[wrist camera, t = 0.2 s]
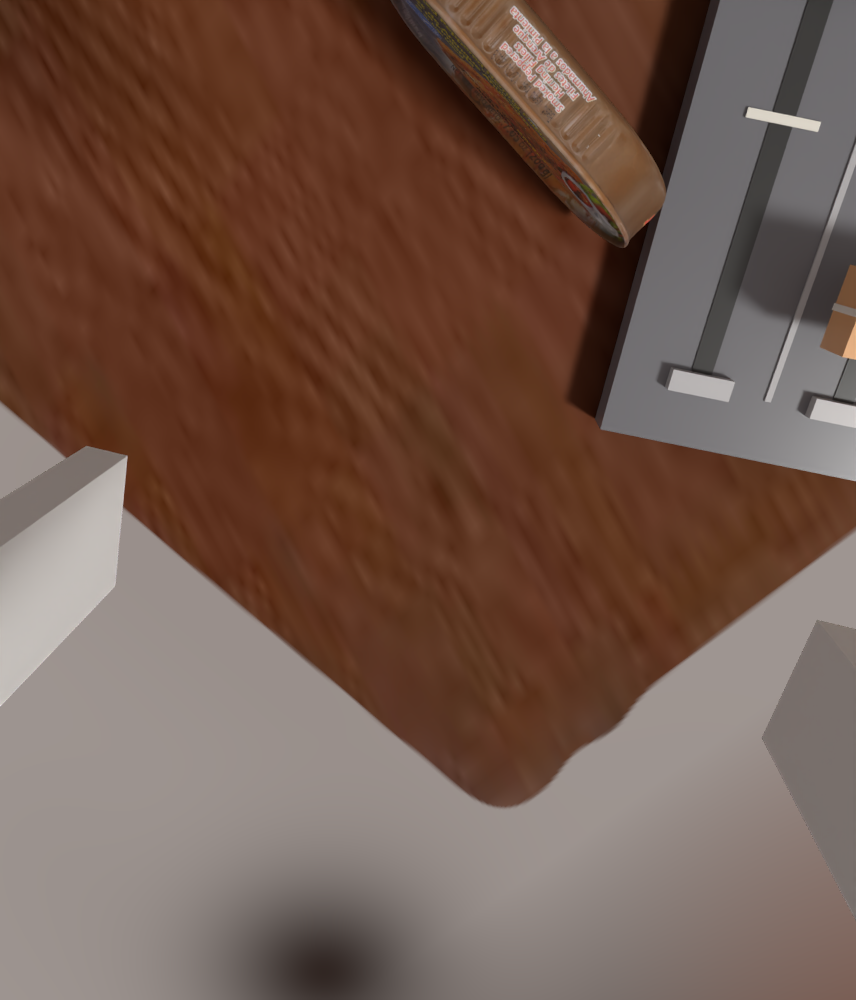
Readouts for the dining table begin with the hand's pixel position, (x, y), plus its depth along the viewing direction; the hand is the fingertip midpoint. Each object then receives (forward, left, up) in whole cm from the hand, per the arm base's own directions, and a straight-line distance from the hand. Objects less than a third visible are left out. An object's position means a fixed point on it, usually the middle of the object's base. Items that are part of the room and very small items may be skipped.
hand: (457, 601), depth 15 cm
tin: (-11, 0, -28) cm, 30 cm away
